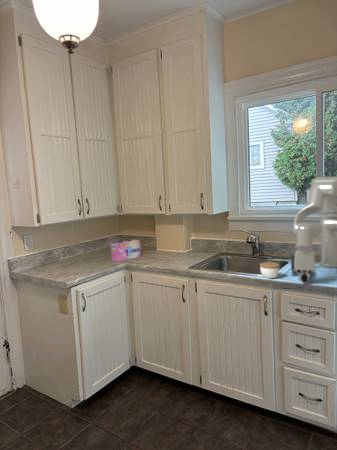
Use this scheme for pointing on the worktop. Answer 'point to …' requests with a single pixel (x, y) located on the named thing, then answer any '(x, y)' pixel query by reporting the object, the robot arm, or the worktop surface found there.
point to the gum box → (125, 250)
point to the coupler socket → (293, 266)
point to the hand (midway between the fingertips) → (304, 282)
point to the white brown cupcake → (269, 269)
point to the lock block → (304, 274)
